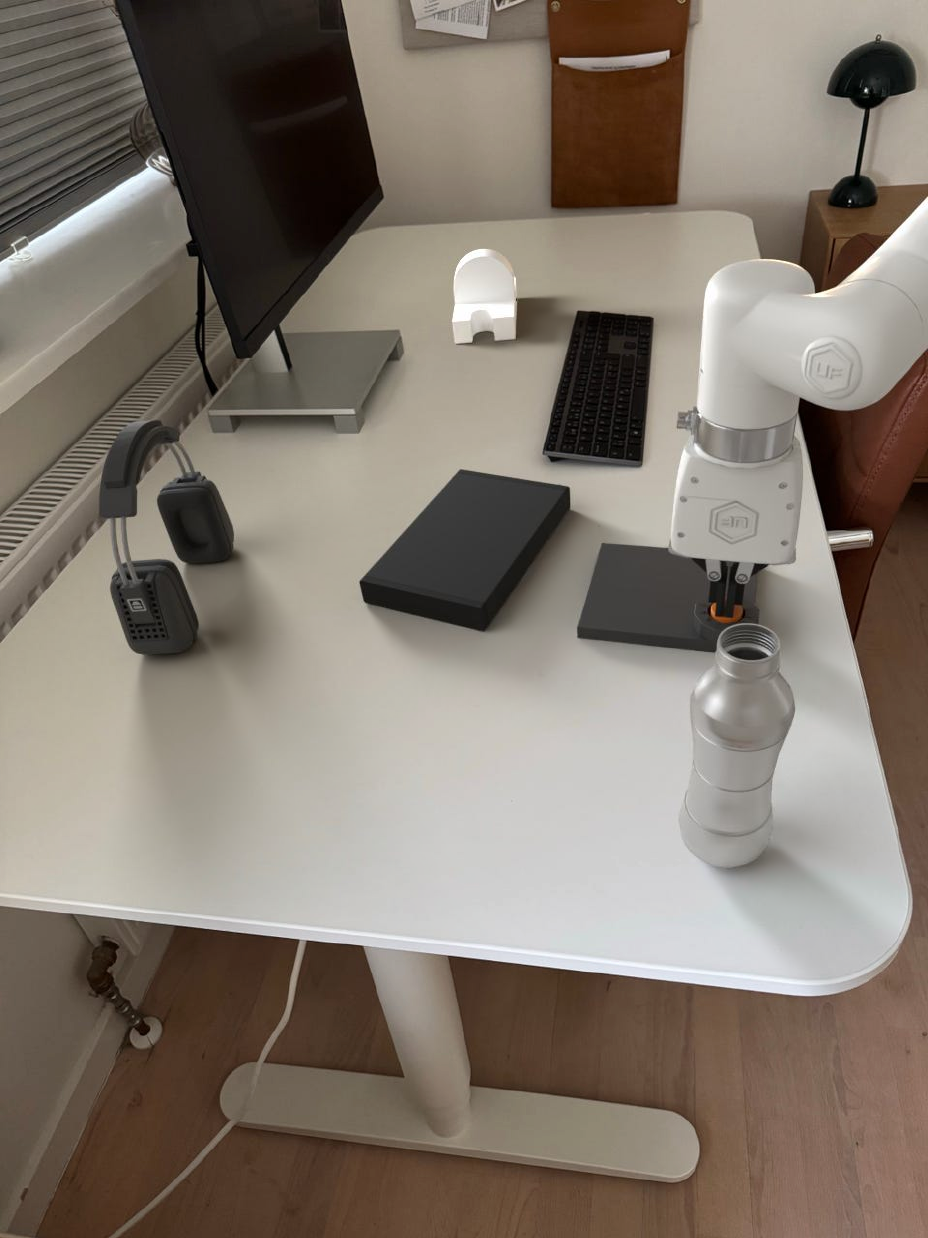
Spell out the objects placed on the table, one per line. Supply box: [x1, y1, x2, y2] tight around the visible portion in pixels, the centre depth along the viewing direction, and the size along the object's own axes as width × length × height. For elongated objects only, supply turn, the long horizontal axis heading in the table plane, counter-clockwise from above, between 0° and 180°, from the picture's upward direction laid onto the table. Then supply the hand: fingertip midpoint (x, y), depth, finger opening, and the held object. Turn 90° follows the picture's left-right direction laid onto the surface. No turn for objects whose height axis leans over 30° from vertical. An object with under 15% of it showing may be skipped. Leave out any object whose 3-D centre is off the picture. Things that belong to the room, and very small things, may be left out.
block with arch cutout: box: [451, 248, 518, 345], centre depth 146 cm, size 18×10×11 cm, turn 177°
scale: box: [576, 542, 760, 653], centre depth 88 cm, size 16×14×3 cm
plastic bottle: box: [678, 623, 796, 869], centre depth 60 cm, size 6×7×20 cm
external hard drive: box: [358, 468, 571, 632], centre depth 97 cm, size 14×23×3 cm, turn 154°
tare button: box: [710, 599, 743, 624], centre depth 82 cm, size 3×3×2 cm
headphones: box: [98, 419, 235, 656], centre depth 92 cm, size 22×6×20 cm, turn 178°
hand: (724, 607), depth 82 cm, fingers closed
